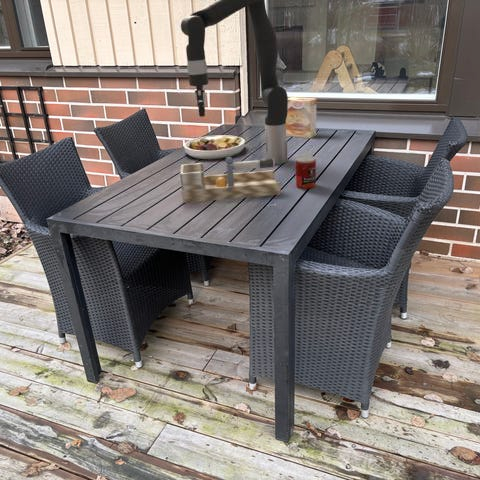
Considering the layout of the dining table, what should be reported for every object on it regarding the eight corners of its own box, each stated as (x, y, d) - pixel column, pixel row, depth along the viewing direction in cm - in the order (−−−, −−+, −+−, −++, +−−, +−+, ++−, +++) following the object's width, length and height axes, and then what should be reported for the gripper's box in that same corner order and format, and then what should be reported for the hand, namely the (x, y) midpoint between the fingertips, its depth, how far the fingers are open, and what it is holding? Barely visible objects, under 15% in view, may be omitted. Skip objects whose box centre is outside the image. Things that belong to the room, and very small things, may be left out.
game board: (274, 180, 194) (273, 155, 189) (280, 194, 179) (279, 167, 175) (184, 188, 192) (181, 163, 187) (183, 202, 177) (180, 175, 173)
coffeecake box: (285, 136, 258) (284, 99, 250) (291, 133, 263) (291, 96, 255) (310, 138, 250) (310, 100, 242) (316, 135, 255) (316, 98, 247)
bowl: (189, 146, 253) (187, 131, 249) (245, 143, 251) (244, 128, 248) (181, 162, 226) (179, 146, 222) (244, 159, 224) (243, 143, 221)
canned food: (303, 190, 181) (303, 162, 177) (291, 185, 188) (291, 157, 183) (319, 186, 184) (320, 158, 180) (307, 181, 191) (307, 154, 186)
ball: (227, 186, 187) (226, 175, 185) (227, 189, 183) (227, 178, 181) (215, 187, 186) (215, 176, 185) (216, 190, 183) (215, 179, 181)
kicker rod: (273, 179, 187) (272, 151, 182) (275, 183, 183) (274, 155, 178) (227, 183, 186) (224, 155, 181) (227, 187, 182) (225, 159, 177)
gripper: (207, 73, 180) (211, 117, 187) (207, 69, 192) (211, 110, 200) (187, 75, 180) (192, 118, 187) (188, 70, 192) (193, 111, 199)
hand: (202, 114), depth 193 cm, fingers open, 8 cm apart
